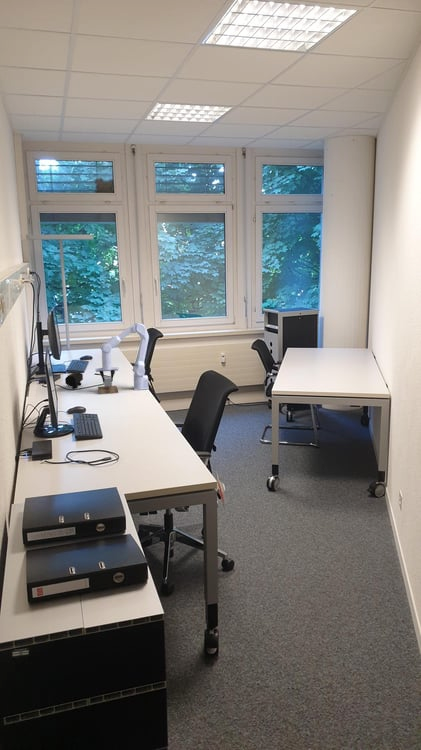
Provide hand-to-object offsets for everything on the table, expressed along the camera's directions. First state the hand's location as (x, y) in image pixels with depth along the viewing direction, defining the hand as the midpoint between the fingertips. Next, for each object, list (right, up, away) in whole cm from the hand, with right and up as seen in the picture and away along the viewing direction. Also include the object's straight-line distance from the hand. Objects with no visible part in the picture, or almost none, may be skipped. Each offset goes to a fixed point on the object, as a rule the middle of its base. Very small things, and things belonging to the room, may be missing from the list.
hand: (107, 382), depth 357 cm
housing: (0, -2, 0) cm, 2 cm away
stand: (0, -6, +1) cm, 6 cm away
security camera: (-24, -4, +13) cm, 28 cm away
